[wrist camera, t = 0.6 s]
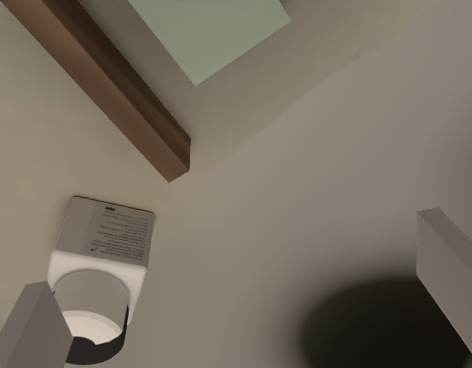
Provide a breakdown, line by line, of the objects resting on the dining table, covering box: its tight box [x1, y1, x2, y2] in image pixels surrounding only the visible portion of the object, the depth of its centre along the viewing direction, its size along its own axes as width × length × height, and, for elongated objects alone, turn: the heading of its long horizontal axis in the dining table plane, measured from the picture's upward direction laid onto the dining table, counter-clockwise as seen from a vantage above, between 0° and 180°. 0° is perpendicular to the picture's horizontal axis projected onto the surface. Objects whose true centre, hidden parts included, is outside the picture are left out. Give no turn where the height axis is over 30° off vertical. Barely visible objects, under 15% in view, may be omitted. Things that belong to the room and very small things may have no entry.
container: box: [47, 197, 154, 365], centre depth 39 cm, size 8×8×13 cm
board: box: [0, 0, 191, 183], centre depth 32 cm, size 2×18×5 cm, turn 33°
